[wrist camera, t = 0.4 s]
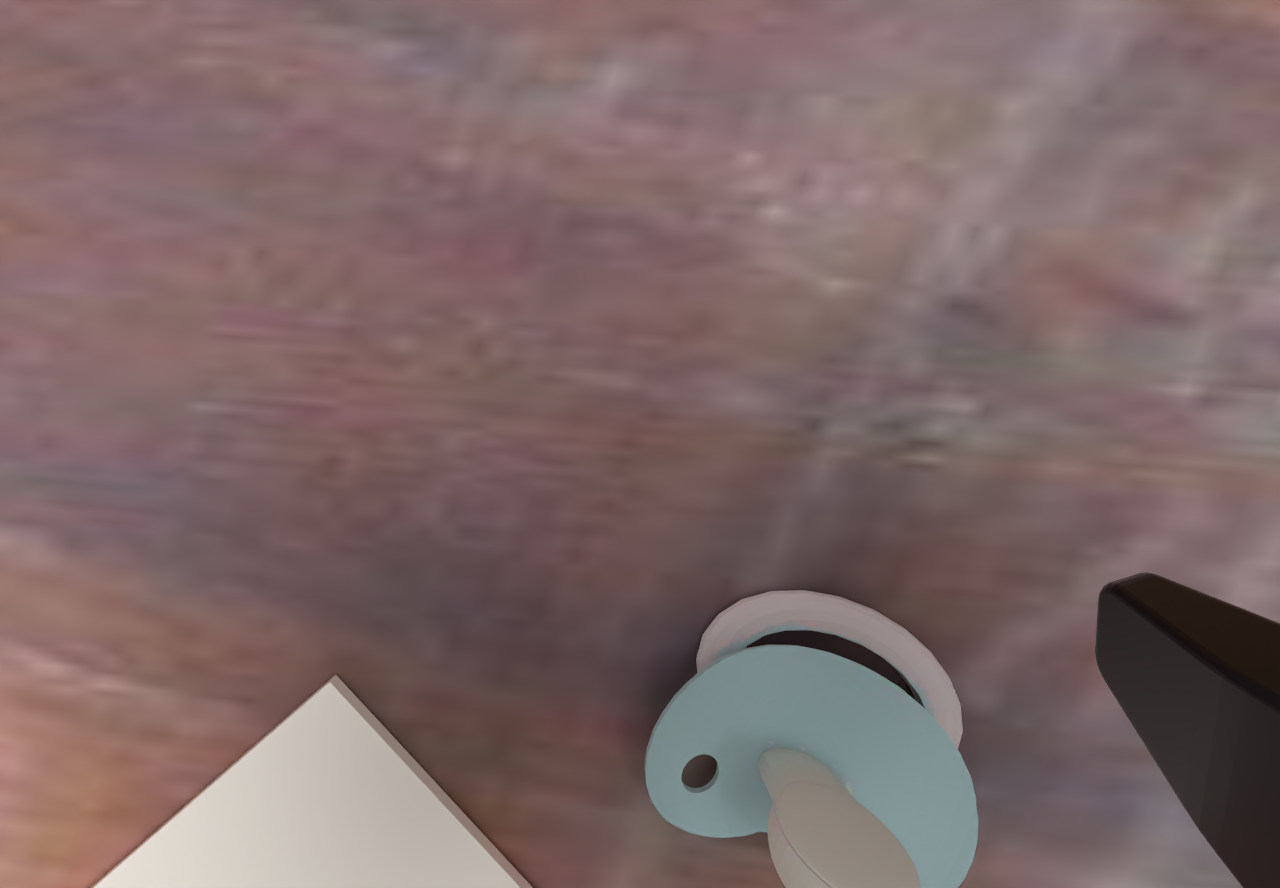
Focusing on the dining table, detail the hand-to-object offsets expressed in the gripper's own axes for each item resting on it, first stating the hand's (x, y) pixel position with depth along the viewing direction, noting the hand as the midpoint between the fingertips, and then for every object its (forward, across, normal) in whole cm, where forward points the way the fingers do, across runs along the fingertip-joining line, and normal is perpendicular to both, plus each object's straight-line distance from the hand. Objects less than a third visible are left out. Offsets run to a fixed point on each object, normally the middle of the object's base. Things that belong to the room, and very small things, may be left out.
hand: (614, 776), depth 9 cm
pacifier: (+10, -4, +12) cm, 16 cm away
